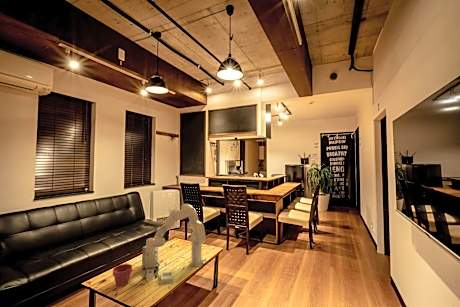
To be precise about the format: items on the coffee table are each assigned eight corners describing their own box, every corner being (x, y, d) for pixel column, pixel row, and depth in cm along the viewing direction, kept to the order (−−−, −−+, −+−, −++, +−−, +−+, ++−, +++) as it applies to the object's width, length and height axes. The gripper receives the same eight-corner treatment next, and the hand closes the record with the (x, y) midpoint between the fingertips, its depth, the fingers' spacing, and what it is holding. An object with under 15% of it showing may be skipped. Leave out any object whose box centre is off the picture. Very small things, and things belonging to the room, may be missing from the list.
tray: (173, 274, 191) (173, 271, 191) (172, 281, 180) (173, 278, 180) (161, 276, 189) (161, 272, 189) (160, 283, 178) (160, 279, 178)
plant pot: (127, 277, 188) (127, 261, 188) (135, 282, 179) (135, 267, 179) (109, 284, 177) (109, 268, 177) (117, 291, 168) (117, 274, 168)
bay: (158, 271, 198) (158, 265, 198) (157, 277, 187) (157, 271, 187) (145, 272, 195) (145, 267, 195) (143, 279, 185) (143, 273, 185)
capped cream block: (154, 274, 191) (154, 264, 192) (153, 279, 184) (153, 269, 184) (147, 275, 190) (147, 265, 190) (146, 280, 183) (146, 269, 183)
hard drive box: (149, 270, 199) (149, 248, 199) (141, 269, 200) (141, 247, 201) (158, 262, 214) (158, 242, 215) (151, 261, 216) (151, 241, 216)
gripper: (161, 250, 193) (161, 271, 193) (140, 252, 190) (140, 273, 189) (160, 254, 186) (160, 275, 185) (139, 256, 182) (139, 278, 182)
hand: (150, 274), depth 187 cm, fingers closed on capped cream block, 5 cm apart
